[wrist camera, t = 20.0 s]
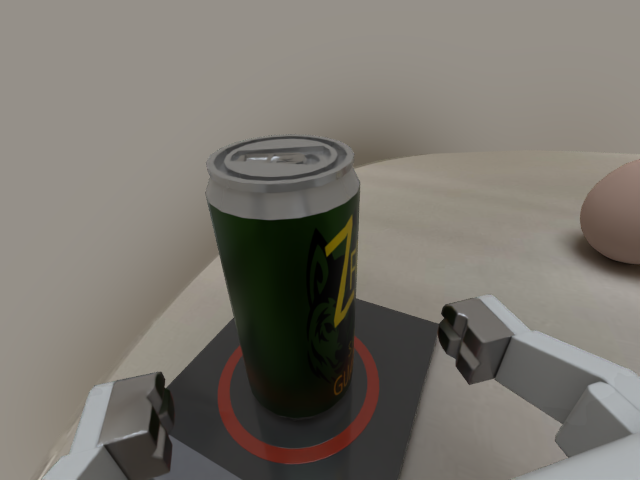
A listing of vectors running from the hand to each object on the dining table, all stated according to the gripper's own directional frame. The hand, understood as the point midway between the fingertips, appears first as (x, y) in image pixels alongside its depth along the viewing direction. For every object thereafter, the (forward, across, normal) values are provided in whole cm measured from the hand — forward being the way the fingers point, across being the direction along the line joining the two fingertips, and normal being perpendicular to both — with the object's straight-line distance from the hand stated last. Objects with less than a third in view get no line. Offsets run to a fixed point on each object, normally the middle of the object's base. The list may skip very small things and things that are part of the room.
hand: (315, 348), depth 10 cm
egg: (+9, -28, +9) cm, 31 cm away
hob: (+5, 0, +9) cm, 10 cm away
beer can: (+5, 0, +8) cm, 9 cm away
